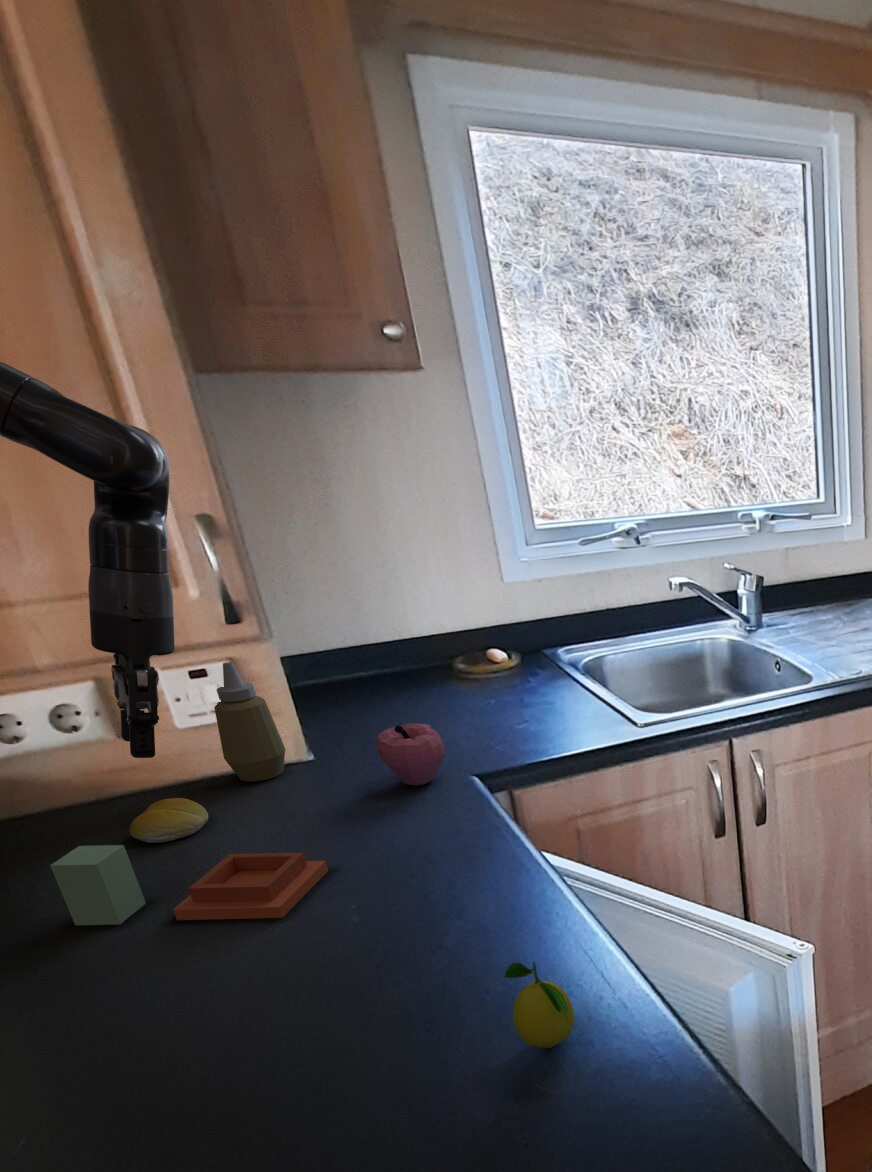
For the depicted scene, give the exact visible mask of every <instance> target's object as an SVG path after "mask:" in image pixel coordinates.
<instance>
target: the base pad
mask: <svg viewBox="0 0 872 1172" xmlns="http://www.w3.org/2000/svg"><path fill="white" fill-rule="evenodd" d="M327 873H329V868H328V864H327V860H307V859H306V855H305V853H304V852H271V853H270V852H265V853H263V852H262V853H261V852H260V853H229V854H228V855H227V856H225V857H224V858H222V860H220V861H219V862H218V863H217V864H215V865H214V866H213V867H212V868H211V869H210V870H208V871H207V872H206V873H205V874H204V875H203V876H201V877H200V878H199V879H198V880H196V881H195V883H193V884H192V885H190V887H188V890H189V893H190V894H189V895H188V896H187V897H186V898H185V899H183V900H182V901H181V902H180V903H179V904H177V905H176V906H175V907H174V908H173V909H172V911H173V914H174V916H175V919H176V921H205V920H206V921H209V920H244V919H246V920H247V919H250V920H251V919H283V918H284V917H285V916H286V915H287V914H288V913H289V912H290V911H291V910H292V909H293V908H294V907H295V906H296V905H297V904H298V903H299V902H300V901H301V900H302V899H303V898H304V896H306V895H307V894H308V893H309V892H310V891H311V889H313V887H314V886H316V884H317V883H318V882H319V881H320V880H321V879H322V878H323V877H324V876H325V875H326V874H327Z"/></svg>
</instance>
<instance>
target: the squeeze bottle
mask: <svg viewBox="0 0 872 1172" xmlns="http://www.w3.org/2000/svg"><path fill="white" fill-rule="evenodd" d="M222 677H223V678H222V679H223V685H224V687H220V686H219V687H220V688H218V687H217V688H216V693H217V696H218V699H219V701H221V702H219V701H218V702H217V703H216V704H217V705H216V704H215V706H214V707H213V708H214V713H215V719H216V724H217V729H218V734H219V739H220V745H221V750H222V755H223V759H224V761H225V762H226V763H227V764H228V766H229V767H230V768H231V769H232V771H233V772H234V773H235V775H236V776H237V777H238V778H239V780H240V781H243V782H262V781H266V780H270V779H274V778H277V777H278V776H280V775H282V774H283V773H284V767H285V758H286V757H285V756H286V747H285V744H284V742H283V739H282V737H281V735H280V733H279V730H278V727H277V725H276V723H275V720H274V719H273V716H272V713H271V711H270V709H269V707H268V704H267V702H266V700H265V699H264V698H263V697H262V696H259V695H256V690H255V686H254V684H253V683H252V682H247V681H246V683H244V682H245V681H244V680H243V679H242V677H241V675H240V673H239V672H238V670H237V668H236V667H235V665H234V663H233V662H232V661H226V662H223V663H222Z"/></svg>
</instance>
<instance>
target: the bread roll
mask: <svg viewBox="0 0 872 1172" xmlns="http://www.w3.org/2000/svg"><path fill="white" fill-rule="evenodd" d="M208 820H209V813H208V812H207V809H206V808H205V807H204V806H203V805H201V804H200V803H198V802H196V801H194V800H191V799H188V798H183V797H172V798H165V799H161V800H158V801H155V802H153V803H152V804H150V805H149V806H148V807H147V808H145V810H144V811H143V812H142V813H141V814H139V815H138V816H136V817H135V818H134V819H133V821H132V822H131V824H129V825H130V826H129V834H130V836H131V837H132V838H133V839H136V840H139V841H140V842H145V843H150V844H160V843H167V842H173V841H176V840H180V839H183V838H186V837H190V836H192V835H193V834H196V833H197V832H198V831H200V830H202V829H203V827H204V826H205V824H207V822H208Z"/></svg>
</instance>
